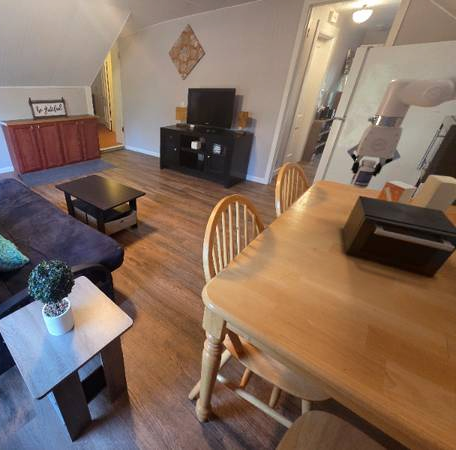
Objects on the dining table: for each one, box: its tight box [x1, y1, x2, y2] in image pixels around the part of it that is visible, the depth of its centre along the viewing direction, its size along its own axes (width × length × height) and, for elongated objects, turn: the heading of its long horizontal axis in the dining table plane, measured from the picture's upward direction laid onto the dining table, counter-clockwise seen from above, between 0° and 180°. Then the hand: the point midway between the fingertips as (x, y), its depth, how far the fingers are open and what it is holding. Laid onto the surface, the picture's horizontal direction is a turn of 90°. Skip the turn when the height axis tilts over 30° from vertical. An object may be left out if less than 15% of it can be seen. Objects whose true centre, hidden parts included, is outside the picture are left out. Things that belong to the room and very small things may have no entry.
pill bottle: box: [349, 158, 377, 189], centre depth 91 cm, size 5×5×10 cm
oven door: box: [344, 216, 456, 278], centre depth 74 cm, size 6×22×15 cm, turn 60°
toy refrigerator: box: [409, 174, 456, 215], centre depth 92 cm, size 8×7×21 cm
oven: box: [342, 195, 456, 252], centre depth 82 cm, size 16×22×15 cm
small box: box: [376, 180, 418, 205], centre depth 107 cm, size 8×6×13 cm
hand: (363, 173), depth 91 cm, fingers closed on pill bottle, 5 cm apart
